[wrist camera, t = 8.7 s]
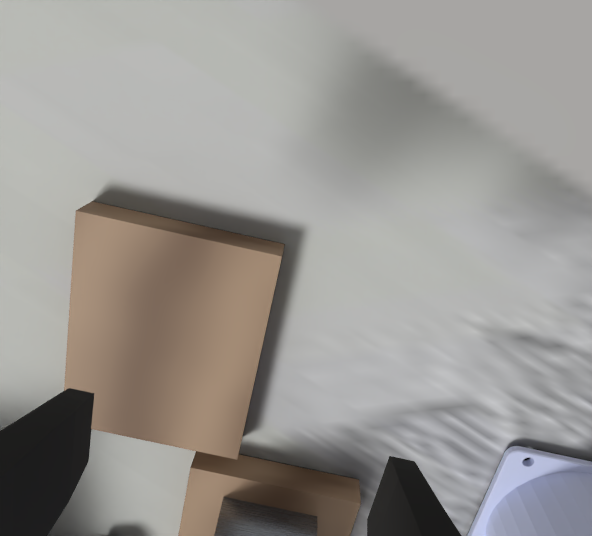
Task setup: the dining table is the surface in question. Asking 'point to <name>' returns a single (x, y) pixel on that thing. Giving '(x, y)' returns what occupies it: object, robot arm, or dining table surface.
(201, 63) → the dining table surface
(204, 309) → the stand
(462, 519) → the dining table surface
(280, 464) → the stand
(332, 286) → the dining table surface
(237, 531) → the block
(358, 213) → the dining table surface
